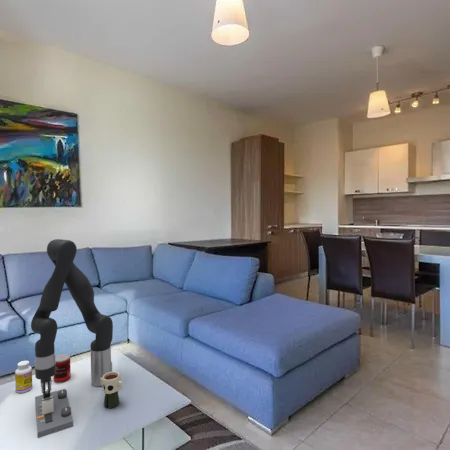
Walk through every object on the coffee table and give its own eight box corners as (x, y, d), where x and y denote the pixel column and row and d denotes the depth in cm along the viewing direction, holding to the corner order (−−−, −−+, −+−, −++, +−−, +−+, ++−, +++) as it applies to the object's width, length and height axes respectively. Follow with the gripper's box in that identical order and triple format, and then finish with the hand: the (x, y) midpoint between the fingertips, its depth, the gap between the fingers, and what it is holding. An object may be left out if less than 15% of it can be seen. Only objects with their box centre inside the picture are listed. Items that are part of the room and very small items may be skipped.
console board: (65, 392, 148) (65, 383, 148) (73, 425, 126) (72, 415, 126) (35, 401, 142) (34, 391, 142) (37, 437, 120) (37, 426, 120)
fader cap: (53, 407, 134) (52, 395, 133) (53, 411, 131) (53, 399, 131) (41, 410, 132) (41, 398, 131) (42, 415, 129) (41, 402, 129)
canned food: (65, 372, 166) (64, 352, 165) (73, 377, 161) (73, 356, 160) (50, 379, 159) (49, 357, 159) (58, 384, 155) (57, 362, 154)
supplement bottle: (24, 394, 147) (23, 367, 146) (12, 392, 148) (11, 365, 147) (35, 386, 153) (35, 360, 153) (24, 384, 155) (23, 358, 154)
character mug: (95, 407, 138) (94, 377, 137) (106, 397, 145) (105, 369, 144) (117, 411, 135) (117, 382, 134) (127, 401, 142) (126, 373, 141)
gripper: (56, 368, 130) (58, 409, 131) (54, 355, 141) (55, 393, 143) (35, 374, 126) (36, 416, 128) (34, 359, 138) (36, 398, 139)
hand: (46, 404), depth 135 cm, fingers closed
